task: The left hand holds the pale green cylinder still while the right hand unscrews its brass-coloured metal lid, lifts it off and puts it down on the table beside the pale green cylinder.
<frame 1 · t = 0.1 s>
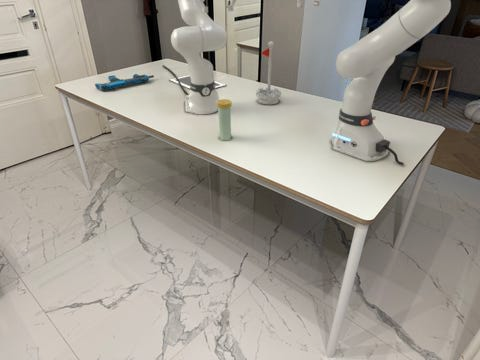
left hand: (218, 11, 121), 48 cm above the table, tool pointing down, fingers open, 8 cm apart
right hand: (308, 6, 134), 48 cm above the table, tool pointing down, fingers open, 8 cm apart
flag stand: (268, 101, 181), on the table
submachine gun: (124, 82, 209), on the table
pale green cylinder: (225, 137, 144), on the table
lid: (224, 102, 136), point 16 cm above the table, screwed on, not yet turned
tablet: (197, 83, 208), on the table
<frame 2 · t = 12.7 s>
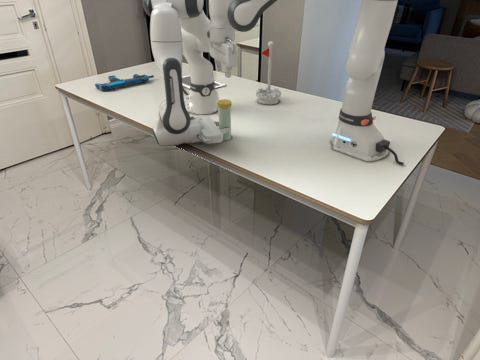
left hand: (226, 126, 142), 5 cm above the table, tool horizontal, fingers closed on pale green cylinder, 5 cm apart
right hand: (223, 73, 129), 27 cm above the table, tool pointing down, fingers open, 8 cm apart
pale green cylinder: (225, 137, 144), on the table, touching left hand
everything else where it was.
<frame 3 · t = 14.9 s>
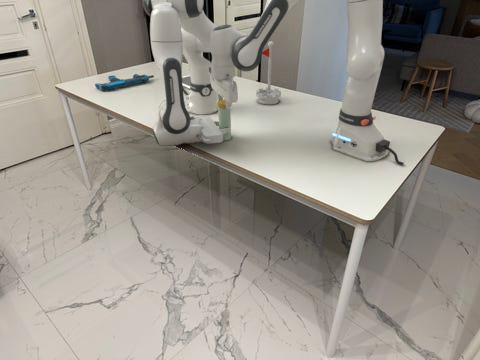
left hand: (226, 126, 142), 5 cm above the table, tool horizontal, fingers closed on pale green cylinder, 5 cm apart
right hand: (224, 106, 136), 14 cm above the table, tool pointing down, fingers closed on lid, 6 cm apart
pale green cylinder: (225, 137, 144), on the table, touching left hand
lid: (224, 102, 136), point 16 cm above the table, screwed on, not yet turned, touching right hand
everything else where it was.
when the right hand's fingers open (14 cm above the table, at t = 16.1 s): lid stays where it is, point 16 cm above the table.
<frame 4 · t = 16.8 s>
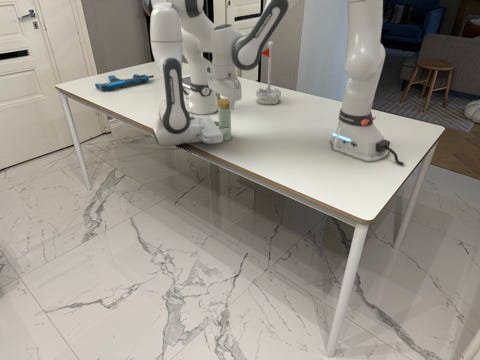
left hand: (226, 126, 142), 5 cm above the table, tool horizontal, fingers closed on pale green cylinder, 5 cm apart
right hand: (224, 105, 137), 14 cm above the table, tool pointing down, fingers open, 8 cm apart
pale green cylinder: (225, 137, 144), on the table, touching left hand
lid: (224, 102, 135), point 16 cm above the table, turned 71° so far, risen 0.2 cm, still on its thread
everything else where it was.
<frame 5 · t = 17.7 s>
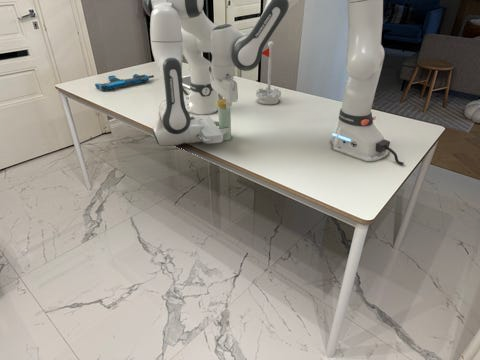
left hand: (226, 126, 142), 5 cm above the table, tool horizontal, fingers closed on pale green cylinder, 5 cm apart
right hand: (224, 105, 136), 14 cm above the table, tool pointing down, fingers closed on lid, 6 cm apart
pale green cylinder: (225, 137, 144), on the table, touching left hand
lid: (224, 102, 135), point 16 cm above the table, turned 71° so far, risen 0.3 cm, still on its thread, touching right hand
everything else where it was.
when the right hand's fingers open (2 cm above the table, at t = 25.0 s): lid drops 2 cm, point 1 cm above the table.
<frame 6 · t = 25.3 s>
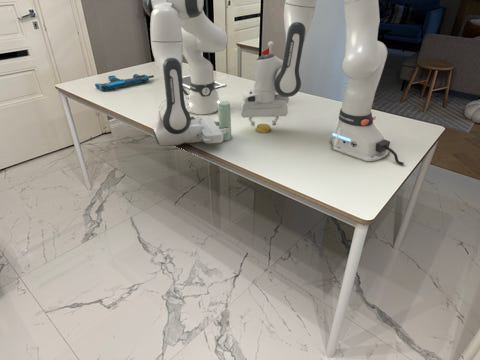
left hand: (227, 126, 142), 5 cm above the table, tool horizontal, fingers closed on pale green cylinder, 5 cm apart
right hand: (263, 125, 150), 2 cm above the table, tool pointing down, fingers open, 8 cm apart
pale green cylinder: (225, 137, 144), on the table, touching left hand
lid: (263, 126, 150), point 1 cm above the table, off its thread
everything else where it was.
when the left hand's fingers open (5 cm above the table, at t = 26.1 s): pale green cylinder stays where it is, on the table.
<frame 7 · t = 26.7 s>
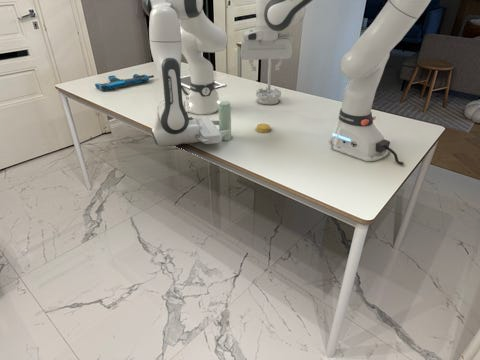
left hand: (225, 126, 141), 5 cm above the table, tool horizontal, fingers open, 8 cm apart
right hand: (265, 70, 137), 26 cm above the table, tool pointing down, fingers open, 8 cm apart
pale green cylinder: (225, 137, 144), on the table
everything else where it was.
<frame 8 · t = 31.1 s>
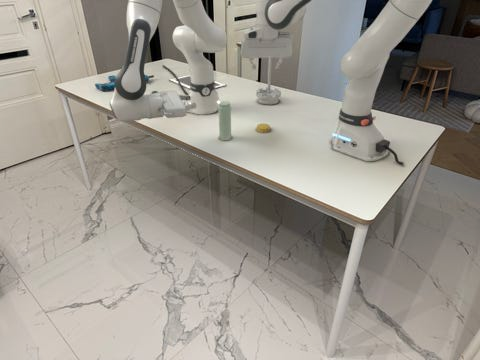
left hand: (192, 101, 131), 18 cm above the table, tool horizontal, fingers open, 8 cm apart
right hand: (265, 68, 136), 27 cm above the table, tool pointing down, fingers open, 8 cm apart
nothing on the table moved.
at the end: lid came off its thread; lid point 1.4 cm above the table; the left hand is holding nothing; the right hand is holding nothing; pale green cylinder tilted 0°; pale green cylinder moved 0.1 cm from its start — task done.
